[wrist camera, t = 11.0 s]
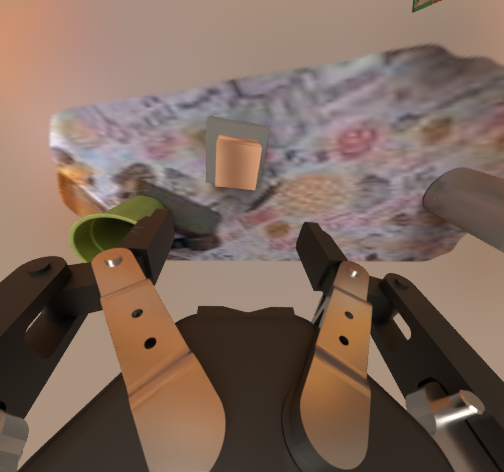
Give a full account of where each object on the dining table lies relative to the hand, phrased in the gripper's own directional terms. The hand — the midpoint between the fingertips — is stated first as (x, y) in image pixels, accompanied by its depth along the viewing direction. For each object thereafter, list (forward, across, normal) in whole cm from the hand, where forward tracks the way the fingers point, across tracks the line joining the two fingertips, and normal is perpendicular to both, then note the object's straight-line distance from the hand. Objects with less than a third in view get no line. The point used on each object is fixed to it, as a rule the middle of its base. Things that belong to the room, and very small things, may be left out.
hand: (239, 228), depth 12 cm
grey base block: (+23, 0, 0) cm, 23 cm away
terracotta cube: (+18, 0, 0) cm, 18 cm away
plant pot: (+23, +15, +13) cm, 30 cm away
